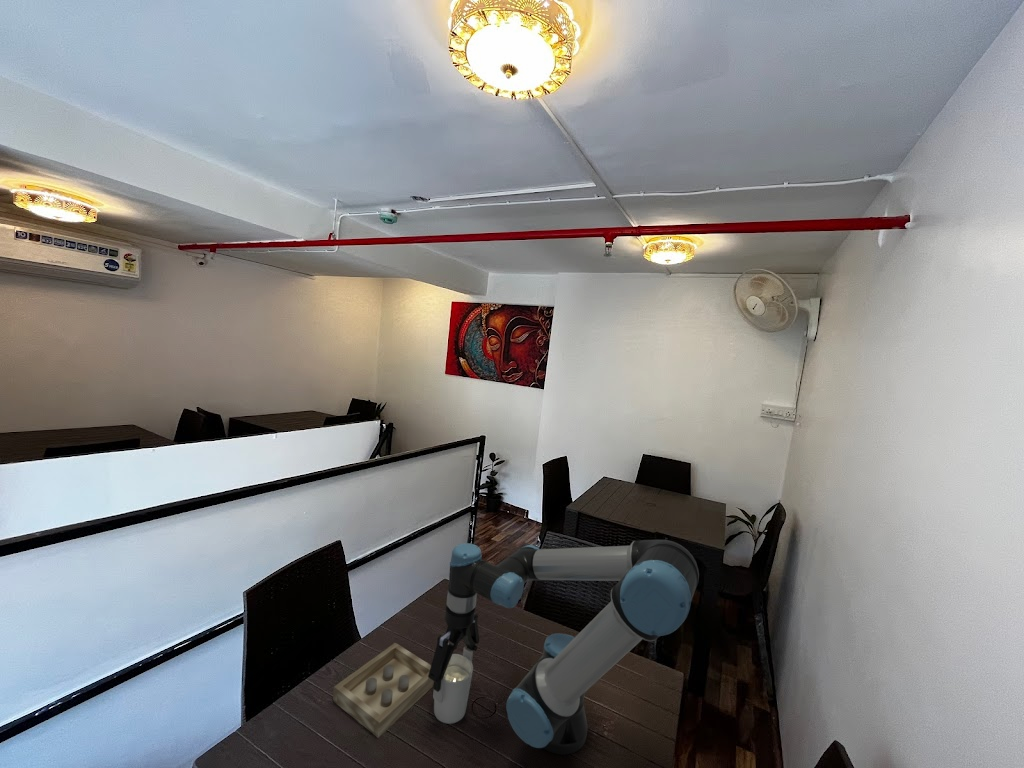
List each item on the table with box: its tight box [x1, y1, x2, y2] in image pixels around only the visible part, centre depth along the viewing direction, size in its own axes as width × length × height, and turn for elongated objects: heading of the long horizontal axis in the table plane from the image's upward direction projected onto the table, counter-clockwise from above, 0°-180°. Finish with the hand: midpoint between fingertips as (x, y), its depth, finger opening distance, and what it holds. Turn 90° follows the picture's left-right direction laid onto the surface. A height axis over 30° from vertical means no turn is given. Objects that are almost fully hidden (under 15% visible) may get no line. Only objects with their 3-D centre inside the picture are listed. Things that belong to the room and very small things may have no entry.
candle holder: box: [433, 653, 474, 725], centre depth 110 cm, size 10×10×12 cm
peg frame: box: [332, 642, 434, 739], centre depth 114 cm, size 17×21×4 cm
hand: (452, 685), depth 110 cm, fingers open, 11 cm apart
